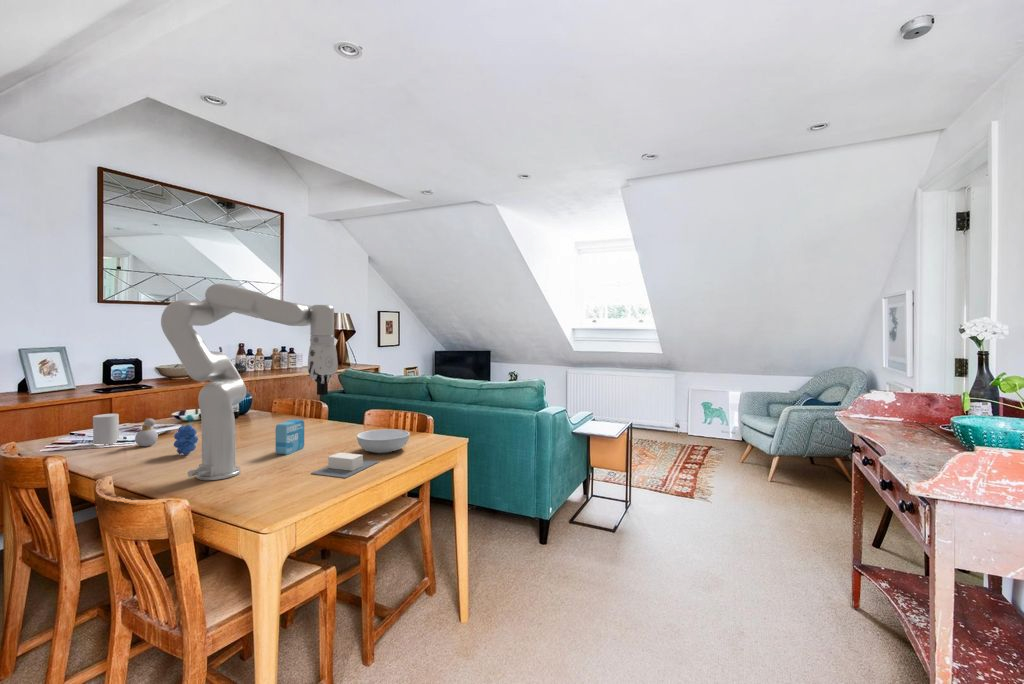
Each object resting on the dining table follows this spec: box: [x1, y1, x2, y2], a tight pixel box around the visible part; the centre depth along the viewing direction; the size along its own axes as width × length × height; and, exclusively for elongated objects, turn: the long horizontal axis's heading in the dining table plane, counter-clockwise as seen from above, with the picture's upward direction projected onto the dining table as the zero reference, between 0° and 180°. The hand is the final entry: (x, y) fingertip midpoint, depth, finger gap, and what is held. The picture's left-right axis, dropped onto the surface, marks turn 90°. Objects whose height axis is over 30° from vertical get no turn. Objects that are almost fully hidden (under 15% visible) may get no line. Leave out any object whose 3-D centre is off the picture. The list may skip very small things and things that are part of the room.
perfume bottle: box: [134, 417, 159, 447], centre depth 192 cm, size 8×10×12 cm
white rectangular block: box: [327, 452, 364, 471], centre depth 165 cm, size 4×10×6 cm
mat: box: [310, 458, 381, 479], centre depth 166 cm, size 20×14×1 cm
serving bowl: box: [356, 428, 410, 454], centre depth 190 cm, size 21×21×7 cm
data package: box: [275, 418, 305, 456], centre depth 186 cm, size 12×4×12 cm, turn 170°
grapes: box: [173, 424, 199, 456], centre depth 180 cm, size 12×7×12 cm, turn 71°
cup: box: [92, 413, 120, 445], centre depth 194 cm, size 8×8×12 cm
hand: (322, 394), depth 159 cm, fingers closed
